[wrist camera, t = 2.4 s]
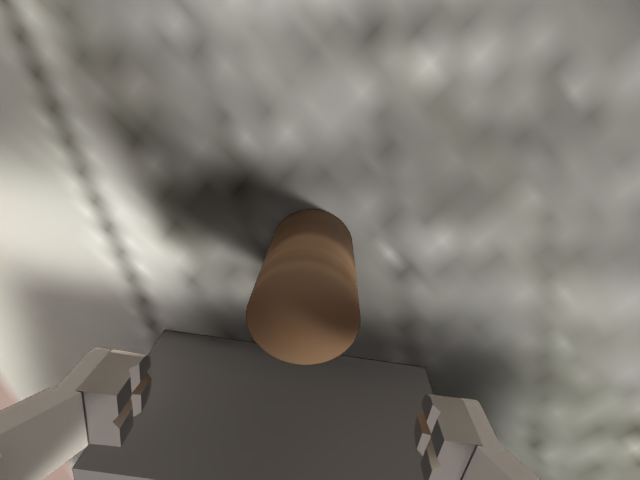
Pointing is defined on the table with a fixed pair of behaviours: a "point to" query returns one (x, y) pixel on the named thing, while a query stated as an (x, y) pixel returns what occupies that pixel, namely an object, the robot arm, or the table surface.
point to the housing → (265, 418)
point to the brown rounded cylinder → (306, 291)
